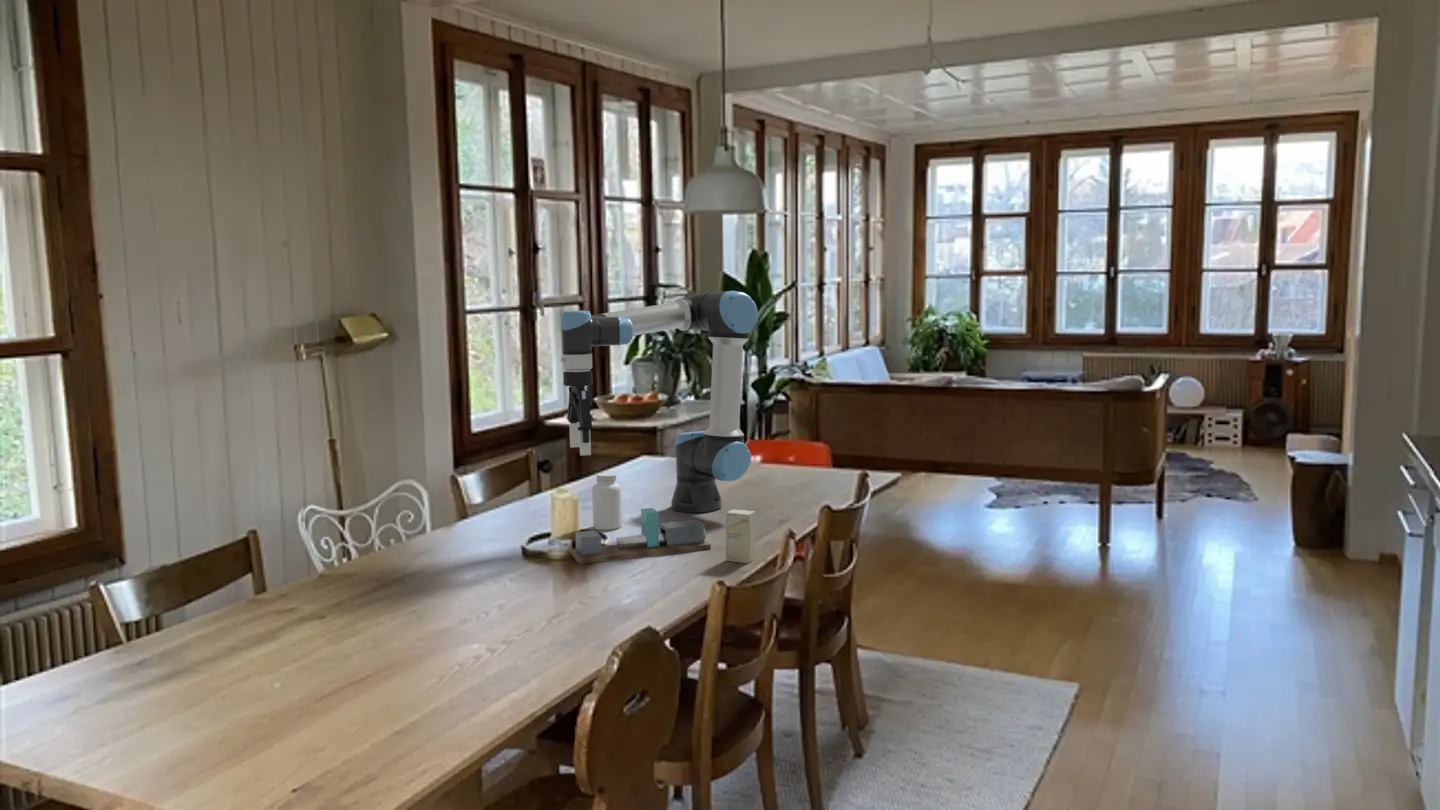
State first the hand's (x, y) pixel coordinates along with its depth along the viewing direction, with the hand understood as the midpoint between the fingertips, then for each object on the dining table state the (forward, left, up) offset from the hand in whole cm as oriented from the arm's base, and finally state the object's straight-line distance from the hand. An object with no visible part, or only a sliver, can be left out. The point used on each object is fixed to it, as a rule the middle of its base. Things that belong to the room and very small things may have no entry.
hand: (580, 451), depth 273 cm
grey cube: (+3, +17, -23) cm, 29 cm away
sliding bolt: (-16, +17, -23) cm, 33 cm away
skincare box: (-31, +35, -24) cm, 53 cm away
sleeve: (-22, +17, -23) cm, 36 cm away
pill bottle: (-10, -12, -24) cm, 29 cm away
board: (-11, +17, -24) cm, 31 cm away
